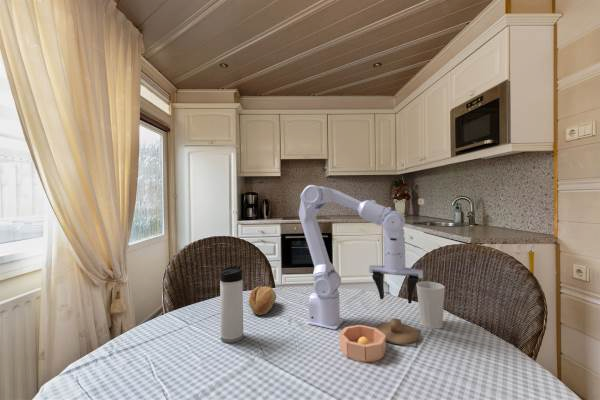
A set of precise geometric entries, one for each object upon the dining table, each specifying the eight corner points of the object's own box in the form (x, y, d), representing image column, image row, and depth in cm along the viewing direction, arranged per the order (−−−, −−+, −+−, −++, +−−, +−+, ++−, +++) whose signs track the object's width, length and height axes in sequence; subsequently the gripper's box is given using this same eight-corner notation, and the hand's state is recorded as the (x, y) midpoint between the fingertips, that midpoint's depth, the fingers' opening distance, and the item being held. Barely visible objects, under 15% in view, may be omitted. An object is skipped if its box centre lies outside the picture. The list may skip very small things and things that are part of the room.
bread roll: (244, 318, 92) (244, 294, 92) (253, 302, 106) (253, 281, 107) (273, 317, 91) (272, 294, 91) (278, 302, 106) (277, 281, 106)
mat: (372, 338, 76) (372, 337, 76) (381, 323, 85) (381, 321, 85) (415, 347, 71) (415, 346, 71) (419, 330, 80) (419, 328, 80)
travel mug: (248, 334, 80) (247, 266, 80) (234, 345, 74) (233, 271, 74) (231, 330, 82) (230, 264, 83) (216, 340, 76) (215, 269, 77)
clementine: (356, 350, 69) (356, 338, 69) (359, 345, 71) (359, 333, 72) (368, 353, 67) (368, 341, 67) (371, 347, 70) (370, 336, 70)
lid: (369, 337, 76) (369, 324, 76) (380, 321, 86) (380, 309, 86) (415, 348, 69) (415, 334, 69) (421, 329, 80) (421, 317, 80)
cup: (449, 330, 79) (448, 289, 80) (420, 328, 81) (419, 288, 81) (441, 319, 87) (440, 282, 87) (414, 317, 89) (413, 281, 89)
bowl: (334, 355, 68) (334, 339, 68) (348, 335, 78) (348, 322, 78) (379, 366, 63) (379, 350, 63) (388, 344, 72) (388, 330, 72)
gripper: (366, 253, 78) (367, 300, 78) (420, 257, 71) (422, 309, 71) (371, 249, 85) (372, 293, 84) (422, 252, 78) (424, 300, 77)
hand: (395, 300), depth 78 cm, fingers open, 7 cm apart
